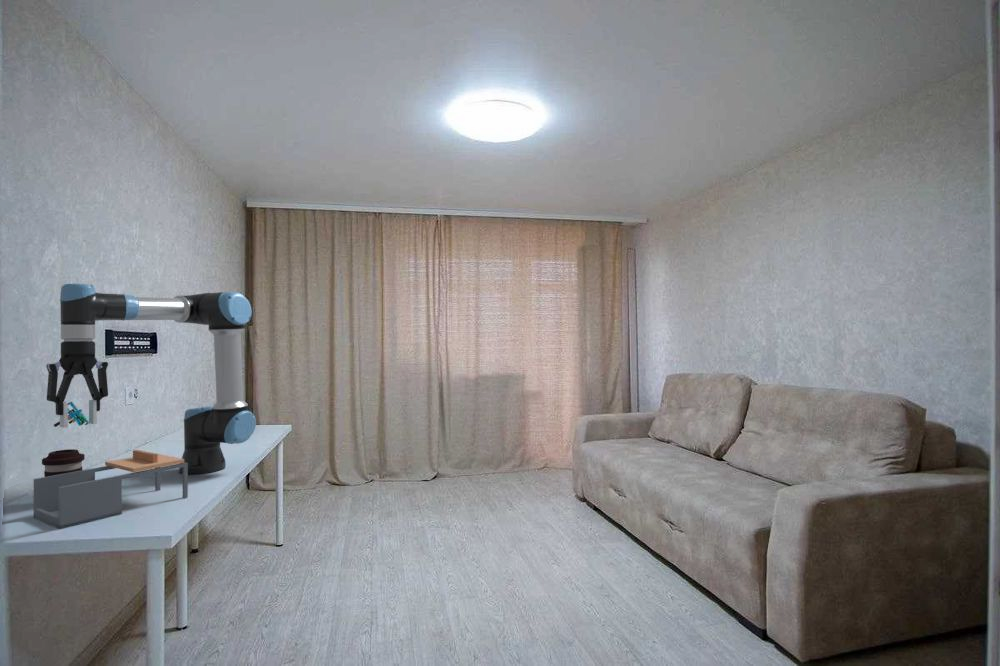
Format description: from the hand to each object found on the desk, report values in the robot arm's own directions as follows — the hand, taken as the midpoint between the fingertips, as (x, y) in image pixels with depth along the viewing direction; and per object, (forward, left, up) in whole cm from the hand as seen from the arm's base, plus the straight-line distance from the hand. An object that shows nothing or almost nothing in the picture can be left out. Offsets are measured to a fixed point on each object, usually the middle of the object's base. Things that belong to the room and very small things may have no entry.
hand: (78, 425), depth 150 cm
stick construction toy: (0, -3, 0) cm, 4 cm away
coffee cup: (-3, -19, -25) cm, 32 cm away
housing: (-9, 0, -25) cm, 26 cm away
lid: (-17, 0, -14) cm, 22 cm away
